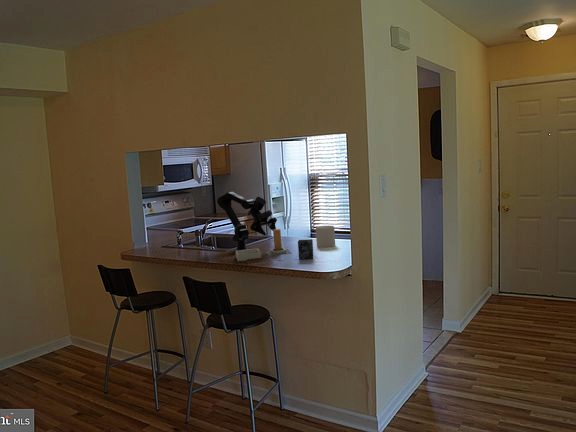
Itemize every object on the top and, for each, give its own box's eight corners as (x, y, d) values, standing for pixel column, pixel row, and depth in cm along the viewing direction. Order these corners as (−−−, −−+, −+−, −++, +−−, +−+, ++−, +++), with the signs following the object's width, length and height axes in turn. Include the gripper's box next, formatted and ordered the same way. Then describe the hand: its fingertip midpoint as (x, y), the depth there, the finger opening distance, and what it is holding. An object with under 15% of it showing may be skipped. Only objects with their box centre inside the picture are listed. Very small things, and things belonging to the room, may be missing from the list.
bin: (235, 257, 307) (235, 250, 306) (258, 254, 309) (257, 248, 309) (238, 261, 293) (237, 255, 293) (261, 259, 296) (260, 252, 295)
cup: (334, 247, 316) (333, 228, 314) (315, 247, 318) (314, 229, 316) (336, 243, 327) (335, 225, 325) (318, 244, 329) (317, 226, 328)
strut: (274, 252, 308) (272, 229, 306) (281, 251, 309) (279, 228, 307) (275, 253, 304) (273, 230, 302) (282, 252, 305) (281, 229, 303)
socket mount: (265, 253, 312) (264, 248, 312) (287, 250, 315) (287, 246, 314) (268, 257, 299) (268, 252, 298) (292, 255, 301) (291, 250, 301)
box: (298, 259, 287) (297, 241, 286) (300, 257, 293) (298, 239, 291) (312, 259, 286) (311, 240, 285) (313, 257, 292) (312, 239, 290)
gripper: (251, 208, 303) (265, 227, 297) (273, 204, 317) (287, 222, 310) (244, 221, 310) (257, 240, 304) (266, 216, 323) (279, 234, 317)
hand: (271, 234), depth 309 cm, fingers open, 9 cm apart
